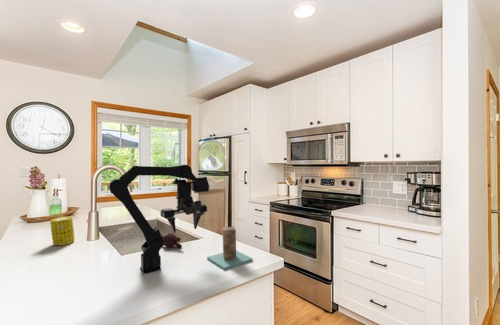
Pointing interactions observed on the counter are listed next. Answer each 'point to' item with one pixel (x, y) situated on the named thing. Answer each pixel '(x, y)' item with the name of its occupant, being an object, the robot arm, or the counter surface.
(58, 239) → the food
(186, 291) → the counter surface
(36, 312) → the counter surface
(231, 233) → the walnut pillar
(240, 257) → the teal board
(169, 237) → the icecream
